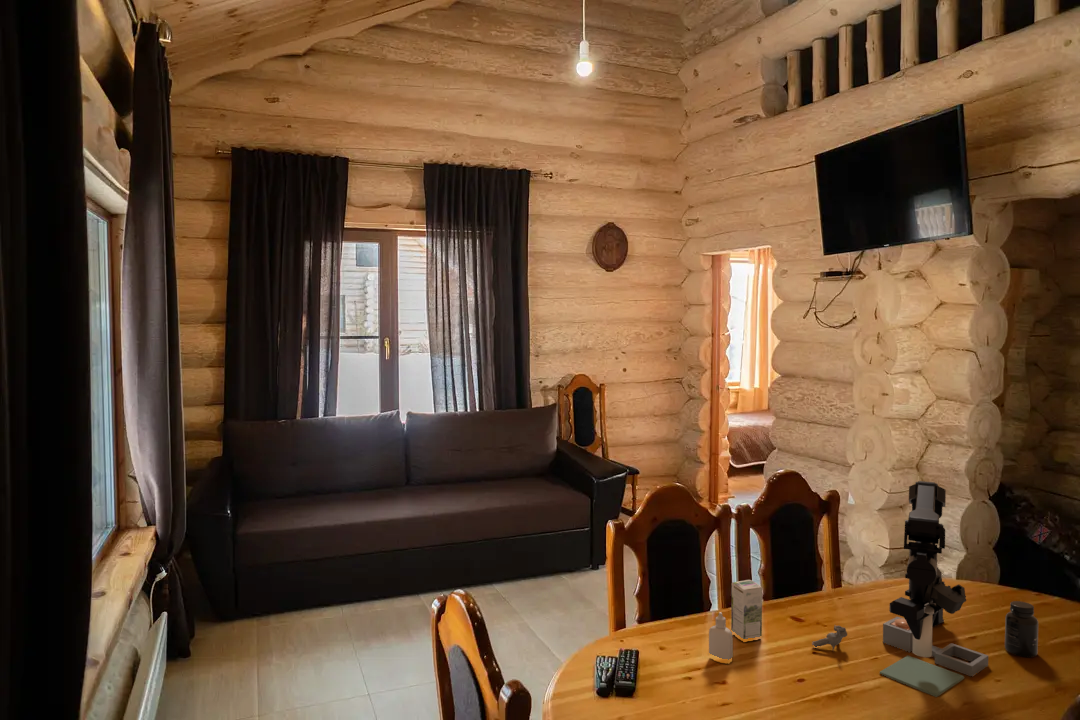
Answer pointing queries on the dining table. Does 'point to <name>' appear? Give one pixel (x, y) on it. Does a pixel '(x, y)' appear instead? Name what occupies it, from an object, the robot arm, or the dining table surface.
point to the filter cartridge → (924, 636)
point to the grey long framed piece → (937, 650)
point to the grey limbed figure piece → (832, 637)
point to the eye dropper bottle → (720, 639)
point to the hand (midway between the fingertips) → (922, 636)
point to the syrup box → (746, 609)
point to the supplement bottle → (1021, 630)
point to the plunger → (901, 624)
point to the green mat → (922, 675)
